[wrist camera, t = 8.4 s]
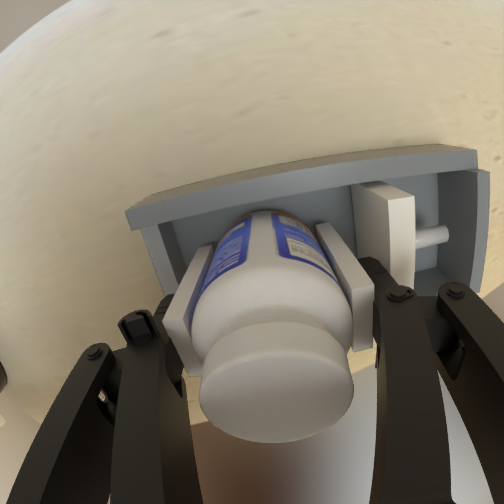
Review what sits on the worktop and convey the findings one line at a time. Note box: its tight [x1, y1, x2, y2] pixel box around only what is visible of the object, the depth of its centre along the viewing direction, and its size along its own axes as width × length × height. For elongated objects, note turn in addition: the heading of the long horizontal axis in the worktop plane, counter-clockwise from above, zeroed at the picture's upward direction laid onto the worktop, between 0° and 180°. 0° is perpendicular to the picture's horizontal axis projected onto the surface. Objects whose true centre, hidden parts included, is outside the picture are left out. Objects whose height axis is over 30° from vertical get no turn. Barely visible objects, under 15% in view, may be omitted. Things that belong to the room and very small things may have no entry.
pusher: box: [350, 180, 449, 289], centre depth 13 cm, size 5×6×5 cm
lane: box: [125, 144, 490, 297], centre depth 14 cm, size 18×9×5 cm, turn 102°
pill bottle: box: [191, 210, 354, 443], centre depth 11 cm, size 6×5×10 cm
